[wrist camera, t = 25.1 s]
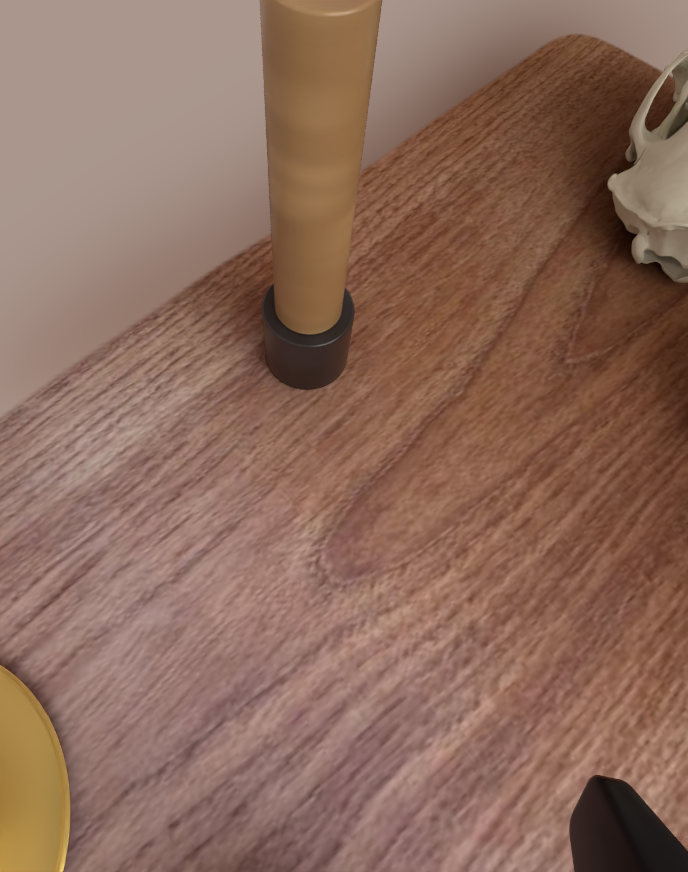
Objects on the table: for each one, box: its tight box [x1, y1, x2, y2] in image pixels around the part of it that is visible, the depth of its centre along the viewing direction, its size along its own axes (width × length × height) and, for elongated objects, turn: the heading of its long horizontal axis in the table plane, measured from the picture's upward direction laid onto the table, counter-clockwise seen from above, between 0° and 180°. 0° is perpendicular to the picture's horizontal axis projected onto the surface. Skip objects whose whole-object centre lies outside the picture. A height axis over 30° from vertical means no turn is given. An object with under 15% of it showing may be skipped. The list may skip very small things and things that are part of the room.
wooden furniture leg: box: [260, 0, 382, 390], centre depth 19 cm, size 4×4×15 cm
